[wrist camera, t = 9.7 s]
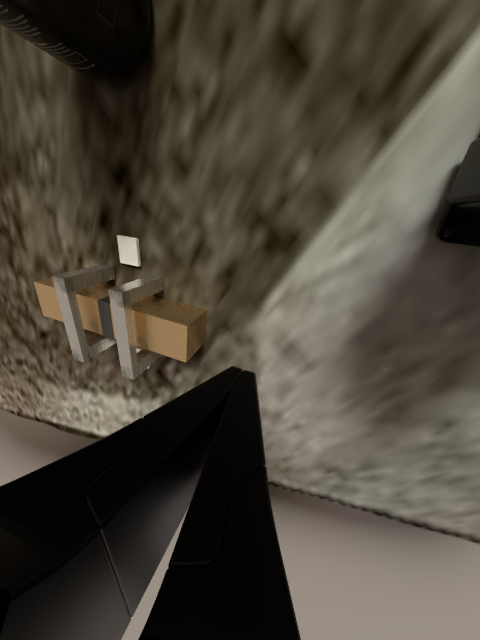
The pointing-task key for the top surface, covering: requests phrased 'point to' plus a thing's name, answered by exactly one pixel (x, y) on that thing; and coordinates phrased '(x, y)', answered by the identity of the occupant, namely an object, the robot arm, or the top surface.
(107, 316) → the banded wooden block
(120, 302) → the collar
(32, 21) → the supplement bottle
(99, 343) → the collar
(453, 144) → the top surface
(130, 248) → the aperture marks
